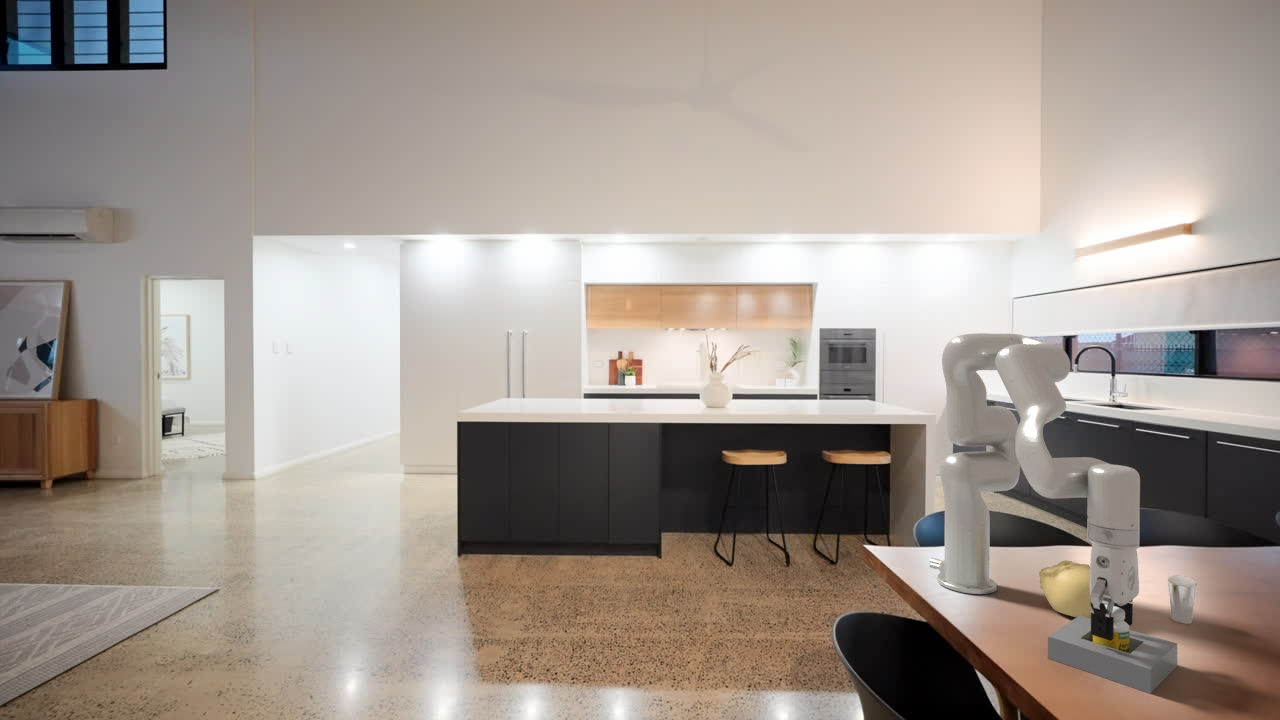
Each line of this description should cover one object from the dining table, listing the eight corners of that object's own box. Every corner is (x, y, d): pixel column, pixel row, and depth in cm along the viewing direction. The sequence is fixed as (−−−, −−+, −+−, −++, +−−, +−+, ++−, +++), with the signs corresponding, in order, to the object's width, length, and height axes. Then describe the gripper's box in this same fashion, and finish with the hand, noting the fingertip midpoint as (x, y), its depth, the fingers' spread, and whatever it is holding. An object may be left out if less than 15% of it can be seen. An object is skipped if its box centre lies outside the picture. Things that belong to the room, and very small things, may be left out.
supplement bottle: (1100, 651, 118) (1100, 600, 118) (1134, 663, 113) (1135, 610, 113) (1087, 659, 115) (1087, 606, 115) (1122, 672, 110) (1122, 617, 110)
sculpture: (1075, 600, 142) (1075, 552, 142) (1124, 623, 130) (1125, 571, 130) (1030, 604, 140) (1030, 555, 140) (1076, 627, 128) (1076, 574, 128)
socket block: (1047, 658, 116) (1048, 636, 115) (1079, 635, 125) (1079, 615, 124) (1150, 693, 104) (1150, 669, 103) (1177, 666, 113) (1177, 643, 112)
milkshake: (1194, 628, 127) (1195, 579, 127) (1163, 618, 132) (1163, 571, 132) (1205, 624, 130) (1206, 575, 129) (1173, 614, 134) (1174, 567, 134)
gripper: (1121, 549, 105) (1120, 651, 106) (1154, 531, 116) (1153, 624, 116) (1069, 538, 111) (1069, 635, 112) (1105, 522, 122) (1104, 611, 122)
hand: (1111, 629), depth 114 cm, fingers open, 9 cm apart
